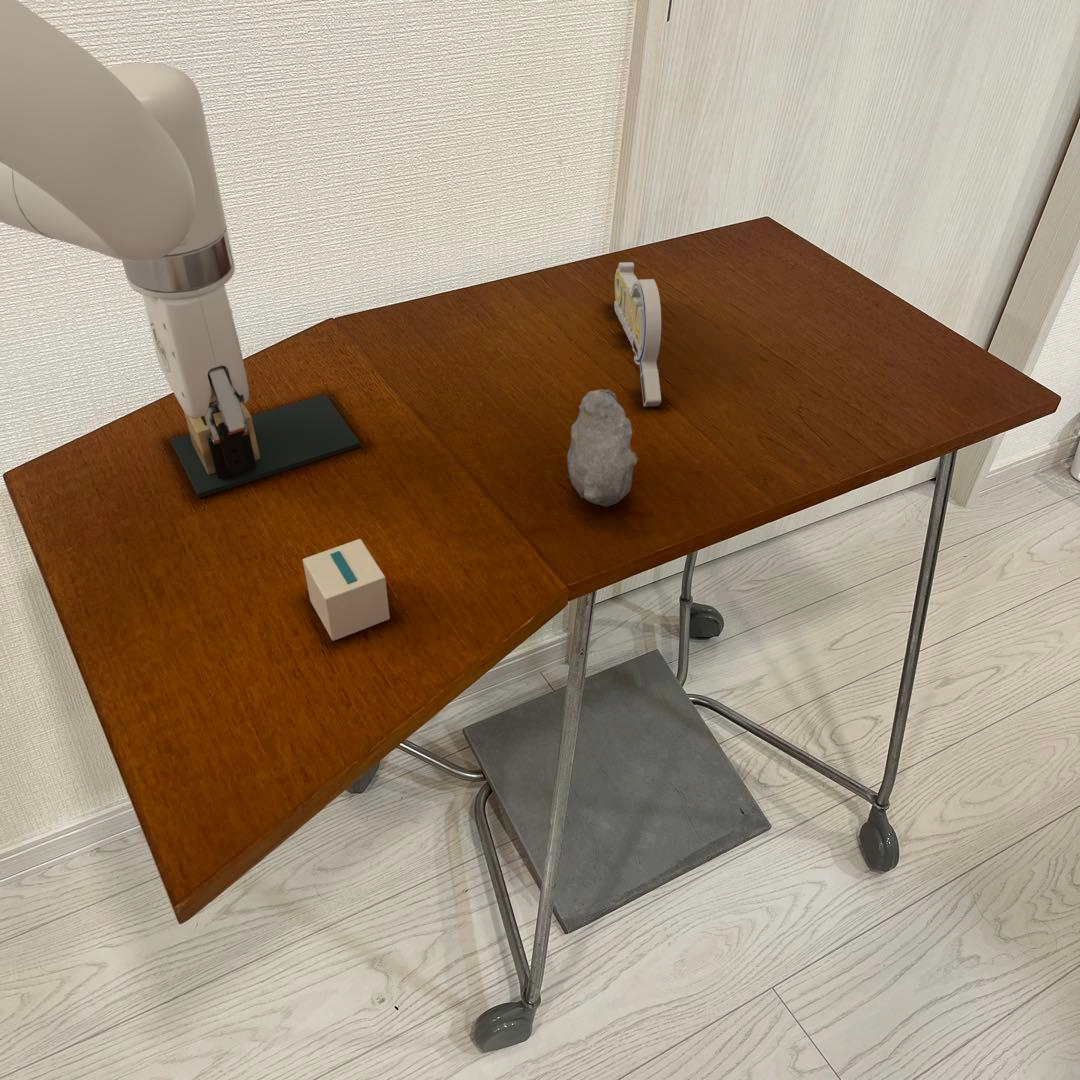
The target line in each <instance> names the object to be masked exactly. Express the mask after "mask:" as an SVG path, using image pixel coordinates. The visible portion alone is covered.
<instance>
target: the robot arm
mask: <svg viewBox="0 0 1080 1080" xmlns="http://www.w3.org/2000/svg"><path fill="white" fill-rule="evenodd" d="M217 176H218V175H217V171H216V167H215V162H214V157H213V151H212V146H211V141H210V136H209V131H208V125H207V121H206V116H205V111H204V105H203V103H202V98H201V94H200V92H199V90H198V87H197V85H196V84H195V82H194V80H193V79H192V78H191V77H190V76H188V75H187V73H185V72H184V71H182V70H180V69H178V68H176V67H173V66H171V65H167V64H162V63H154V62H153V63H152V62H132V63H130V62H129V63H122V64H118V65H113V66H109V67H106V66H105V65H104V64H103V63H102V62H101V61H100V60H98V59H97V58H96V57H94V56H93V55H92V54H91V53H90V52H88V50H86V49H85V48H83V46H81V45H80V44H78V42H76V41H74V40H73V39H72V38H70V37H69V36H68V35H66V34H65V33H63V31H61V30H60V29H58V28H56V27H55V26H54V25H52V24H51V23H50V22H48V21H47V20H46V19H44V18H42V17H41V16H40V15H38V14H37V13H35V12H34V11H33V10H31V9H30V8H29V7H27V6H26V5H24V4H23V3H21V2H20V1H19V0H0V222H1V223H3V224H5V225H8V226H10V227H13V228H16V229H20V230H23V231H25V232H30V233H33V234H35V235H39V236H42V237H45V238H47V239H50V240H55V241H61V242H64V243H67V244H70V245H73V246H76V247H80V248H83V249H86V250H88V251H89V250H90V251H92V252H95V253H97V254H98V253H99V254H101V255H104V256H107V257H110V258H113V259H117V260H119V261H120V260H121V262H122V265H123V266H122V267H123V270H124V273H125V277H126V281H127V283H128V285H129V287H130V288H131V289H132V290H133V291H135V293H139V294H140V295H142V299H143V303H144V307H145V311H146V315H147V320H148V324H149V328H150V332H151V337H152V342H153V346H154V350H155V355H156V358H157V362H158V364H159V367H160V369H161V371H162V372H163V375H164V377H165V379H166V381H167V383H168V385H169V387H170V388H171V391H172V392H173V394H174V396H175V399H176V400H177V402H178V403H179V406H180V407H181V409H182V410H183V413H184V412H185V413H186V415H188V416H189V417H191V418H193V419H198V417H202V416H204V417H205V420H206V423H207V427H208V430H209V433H210V436H211V438H208V439H207V441H208V444H209V448H210V452H211V456H212V460H213V464H214V468H215V472H216V475H217V477H218V478H219V479H226V478H229V477H232V476H236V475H239V474H242V473H245V472H248V471H251V470H254V469H255V468H256V462H255V457H254V453H253V448H252V444H251V439H250V435H249V430H248V429H247V426H246V422H245V419H244V415H243V412H242V408H241V405H240V403H242V404H243V405H244V406H246V405H247V403H248V401H249V399H250V388H249V383H248V377H247V372H246V368H245V363H244V359H243V353H242V350H241V345H240V341H239V336H238V332H237V328H236V324H235V320H234V315H233V309H232V308H231V305H230V301H229V297H228V293H227V289H226V285H225V284H227V283H228V282H229V281H230V280H231V279H232V278H233V275H234V274H235V269H236V266H235V265H236V264H235V260H234V256H233V251H232V245H231V240H230V236H229V231H228V230H229V229H228V225H227V220H226V215H225V211H224V206H223V201H222V196H221V191H220V187H219V181H218V177H217ZM213 396H215V399H216V401H214V402H210V399H211V397H213ZM218 412H220V413H221V416H222V419H223V423H220V424H218V426H216V423H215V420H214V416H213V414H214V413H218Z"/></svg>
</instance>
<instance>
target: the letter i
mask: <svg viewBox="0 0 1080 1080" xmlns="http://www.w3.org/2000/svg"><path fill="white" fill-rule="evenodd" d="M302 565H303V569H304V575H305V579H306V580H305V581H306V584H307V591H308V596H309V601H310V603H311V606H313V609H314V610H315V612H316V614H317V616H318V617H319V619H320V621H321V623H322V625H323V626H324V629H325V630H326V632H327V633H328V635H329V638H330V639H331V641H332V642H334V641H335V642H336V641H337V640H340V639H342V638H345V637H347V636H349V635H350V636H351V635H352V634H355V633H357V632H360V631H363V630H366V629H367V628H370V627H373V626H376V625H378V624H380V623H383V622H386V621H389V620H390V619H391V617H390V608H389V597H388V590H387V589H388V588H387V582H386V576H385V574H384V573H383V571H382V570H381V568H380V566H379V565H378V562H376V560H375V559H374V558H373V555H372V554H371V552H370V551H369V549H368V548H367V546H366V545H365V543H364V541H363V540H362V539H361V538H358V539H355V540H352V541H350V542H347V543H344V544H341V545H339V546H335V547H332V548H329V549H327V550H324V551H321V552H319V553H316V554H312V555H310V556H306V557H305V558H303V559H302Z"/></svg>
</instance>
